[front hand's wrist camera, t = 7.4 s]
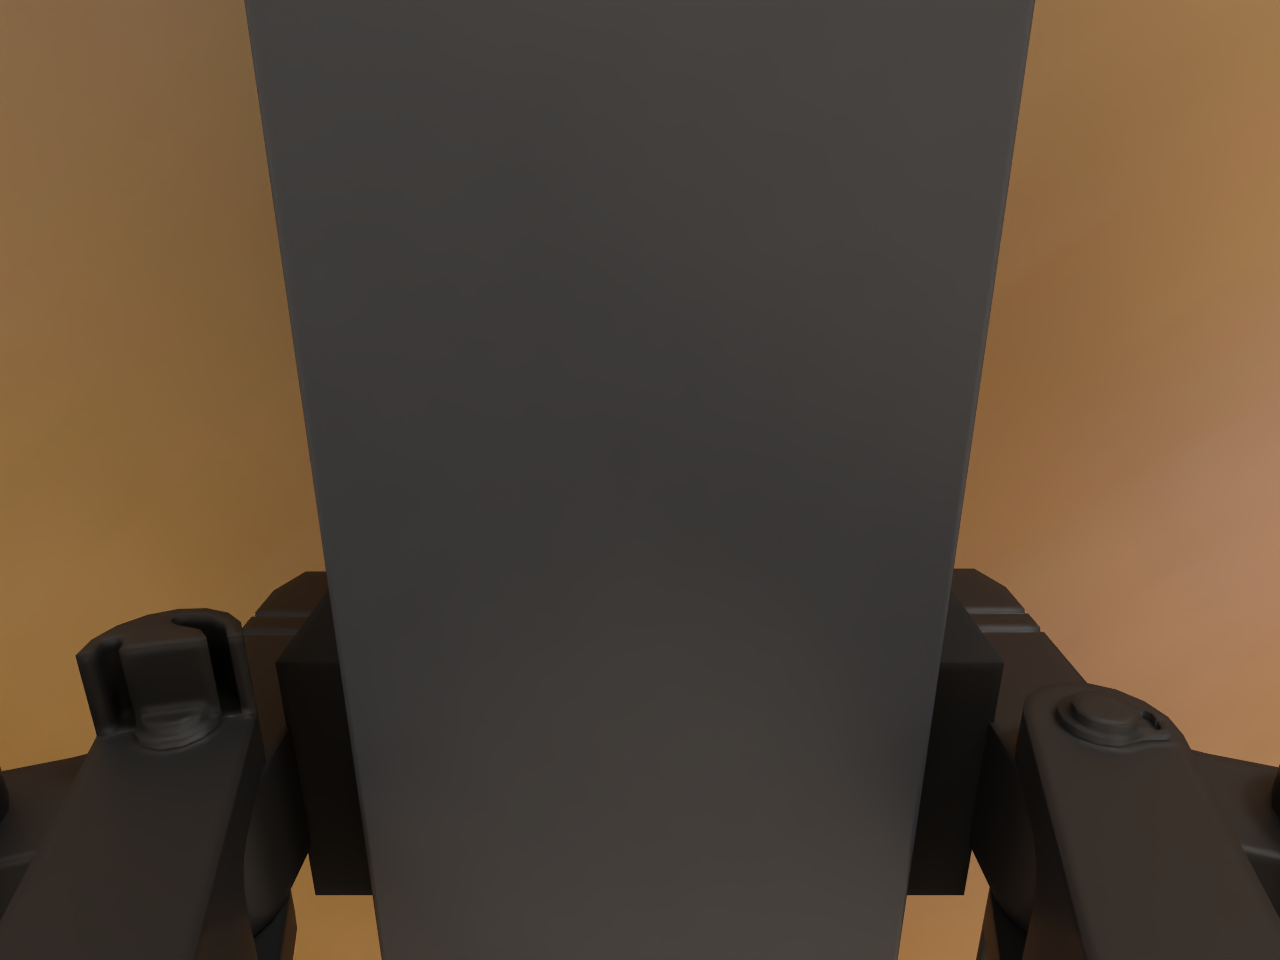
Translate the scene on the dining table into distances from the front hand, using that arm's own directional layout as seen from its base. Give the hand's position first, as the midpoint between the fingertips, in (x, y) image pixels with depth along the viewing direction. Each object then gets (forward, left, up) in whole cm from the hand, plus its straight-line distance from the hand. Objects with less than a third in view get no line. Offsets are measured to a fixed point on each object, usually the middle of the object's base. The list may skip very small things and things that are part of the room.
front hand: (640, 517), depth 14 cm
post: (+25, +11, -1) cm, 28 cm away
